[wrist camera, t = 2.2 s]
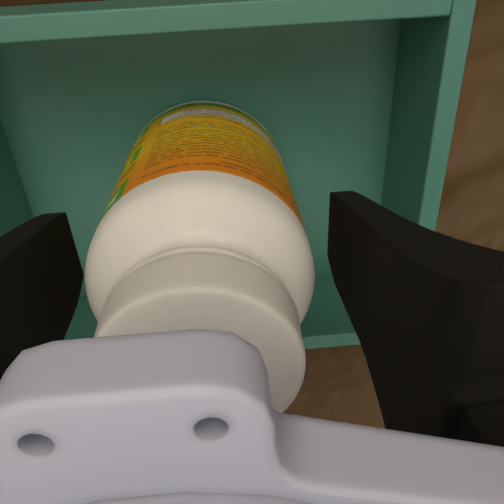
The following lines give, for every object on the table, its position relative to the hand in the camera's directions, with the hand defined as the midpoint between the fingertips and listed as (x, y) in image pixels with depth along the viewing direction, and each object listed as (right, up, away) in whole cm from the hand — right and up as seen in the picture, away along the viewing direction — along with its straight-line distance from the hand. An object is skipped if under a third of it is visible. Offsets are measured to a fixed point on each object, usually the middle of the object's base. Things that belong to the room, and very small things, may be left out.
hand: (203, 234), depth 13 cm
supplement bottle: (0, +2, +4) cm, 5 cm away
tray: (0, +3, +4) cm, 5 cm away
